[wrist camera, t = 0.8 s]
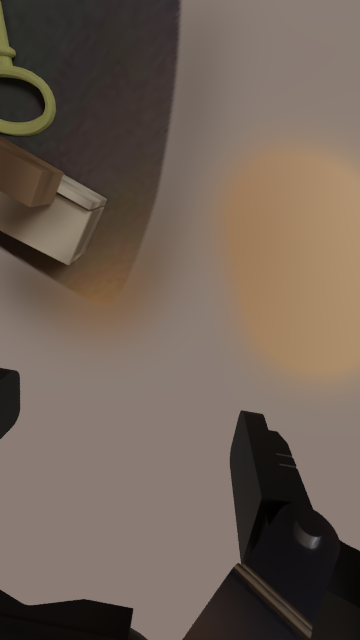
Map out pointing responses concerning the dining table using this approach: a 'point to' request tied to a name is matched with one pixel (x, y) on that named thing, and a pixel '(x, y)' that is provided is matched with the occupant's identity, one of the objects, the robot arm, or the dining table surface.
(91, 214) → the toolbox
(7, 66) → the key
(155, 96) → the dining table surface
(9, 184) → the stacked wooden blocks
